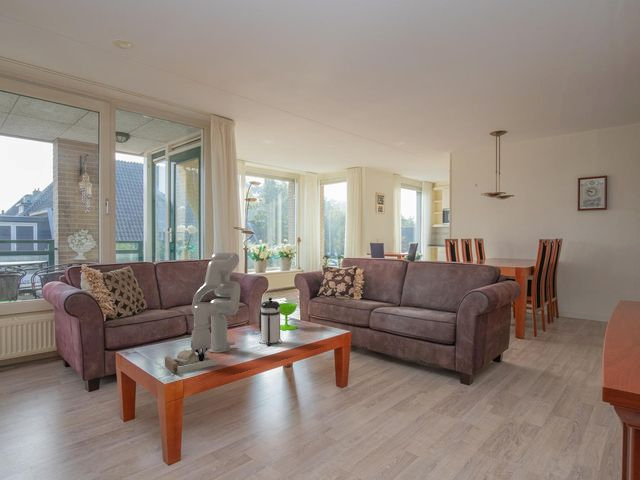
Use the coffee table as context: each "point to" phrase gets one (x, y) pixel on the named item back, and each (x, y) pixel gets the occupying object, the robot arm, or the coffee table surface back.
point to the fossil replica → (187, 357)
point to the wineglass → (287, 310)
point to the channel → (172, 365)
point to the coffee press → (270, 322)
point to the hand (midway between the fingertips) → (201, 360)
